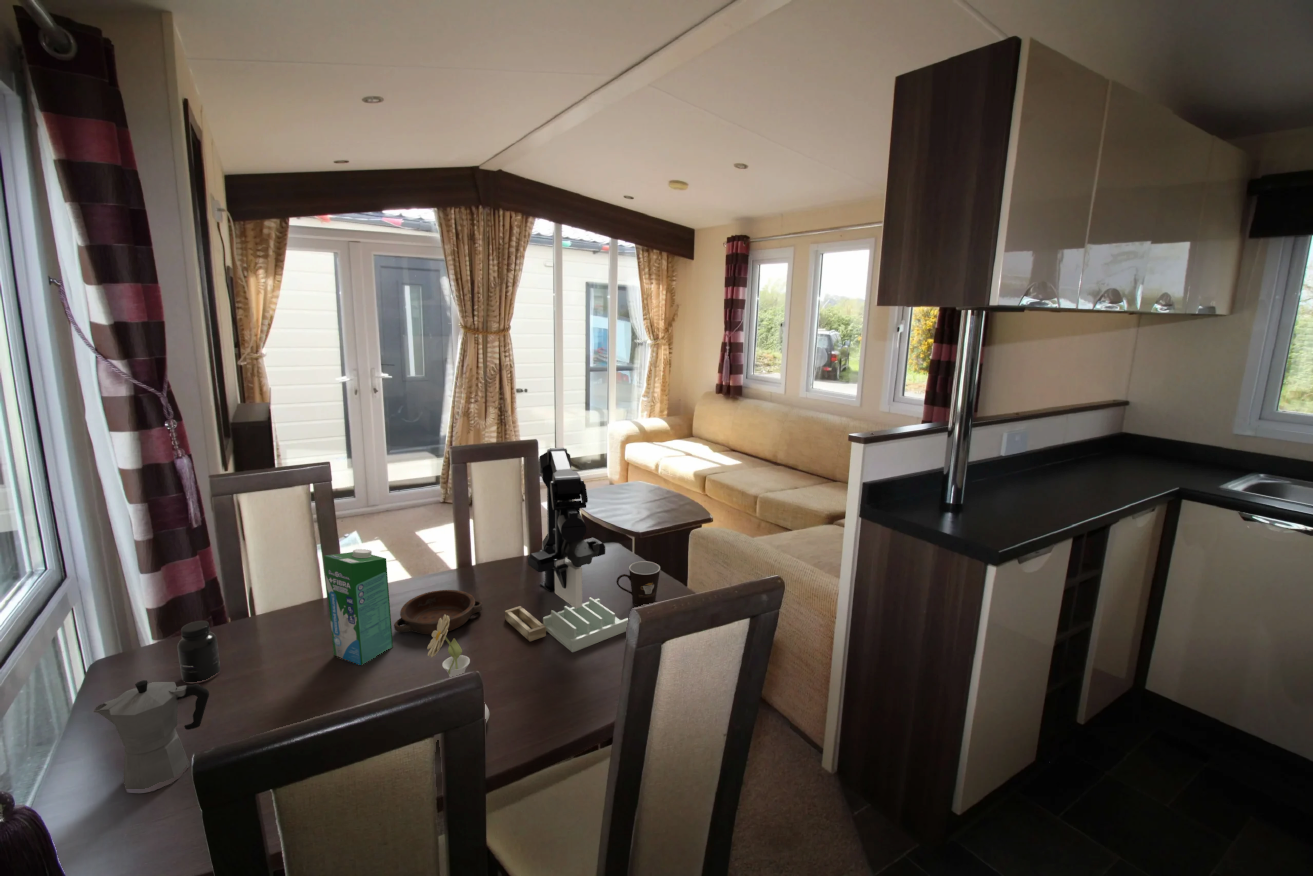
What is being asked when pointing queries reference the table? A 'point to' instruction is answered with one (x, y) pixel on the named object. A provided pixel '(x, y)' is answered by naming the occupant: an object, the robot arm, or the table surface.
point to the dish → (436, 611)
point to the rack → (583, 625)
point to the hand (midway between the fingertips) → (568, 586)
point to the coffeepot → (152, 730)
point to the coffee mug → (642, 582)
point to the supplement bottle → (198, 652)
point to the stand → (530, 634)
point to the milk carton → (358, 605)
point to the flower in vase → (450, 652)
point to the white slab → (571, 585)
